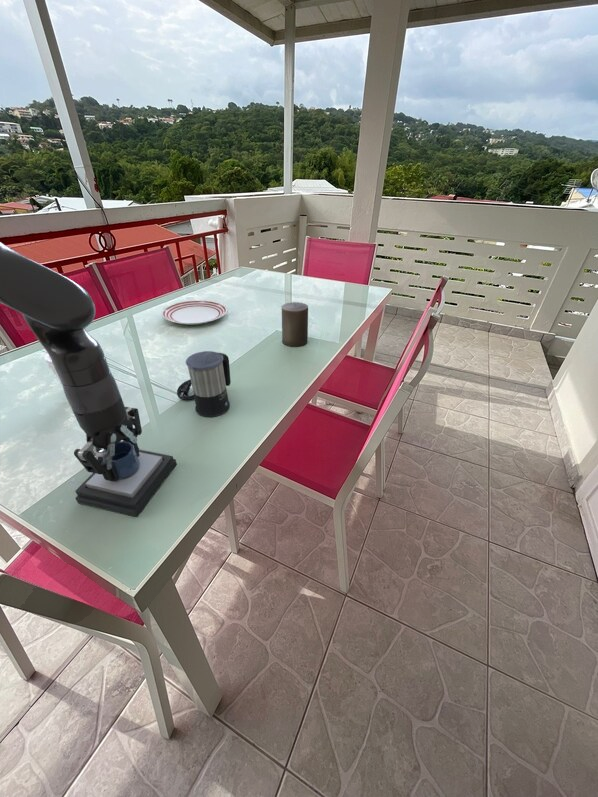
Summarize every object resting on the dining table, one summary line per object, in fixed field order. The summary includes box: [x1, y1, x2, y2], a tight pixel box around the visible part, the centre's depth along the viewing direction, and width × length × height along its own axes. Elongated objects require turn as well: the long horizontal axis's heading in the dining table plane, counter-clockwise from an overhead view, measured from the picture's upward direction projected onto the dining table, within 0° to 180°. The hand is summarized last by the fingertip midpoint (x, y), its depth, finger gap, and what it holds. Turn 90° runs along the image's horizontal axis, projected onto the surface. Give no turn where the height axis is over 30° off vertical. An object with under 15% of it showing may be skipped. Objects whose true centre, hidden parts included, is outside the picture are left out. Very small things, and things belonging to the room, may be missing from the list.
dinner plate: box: [161, 299, 228, 326], centre depth 144 cm, size 27×27×3 cm
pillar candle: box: [280, 301, 309, 348], centre depth 121 cm, size 10×10×15 cm
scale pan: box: [86, 452, 163, 498], centre depth 66 cm, size 10×10×1 cm
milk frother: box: [176, 350, 232, 418], centre depth 88 cm, size 14×16×15 cm
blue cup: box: [102, 440, 140, 479], centre depth 64 cm, size 6×6×5 cm
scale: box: [74, 449, 178, 518], centre depth 67 cm, size 14×13×3 cm
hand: (124, 467), depth 65 cm, fingers closed on blue cup, 5 cm apart
